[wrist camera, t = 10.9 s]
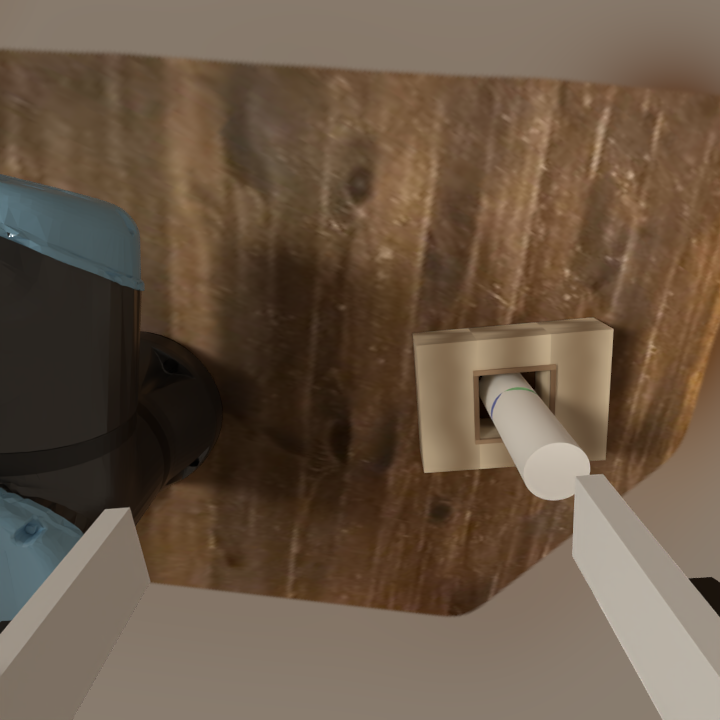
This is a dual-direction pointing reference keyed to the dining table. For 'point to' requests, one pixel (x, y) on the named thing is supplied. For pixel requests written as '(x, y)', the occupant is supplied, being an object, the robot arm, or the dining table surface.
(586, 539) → the robot arm
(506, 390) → the tube
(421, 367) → the socket board
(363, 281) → the dining table surface
